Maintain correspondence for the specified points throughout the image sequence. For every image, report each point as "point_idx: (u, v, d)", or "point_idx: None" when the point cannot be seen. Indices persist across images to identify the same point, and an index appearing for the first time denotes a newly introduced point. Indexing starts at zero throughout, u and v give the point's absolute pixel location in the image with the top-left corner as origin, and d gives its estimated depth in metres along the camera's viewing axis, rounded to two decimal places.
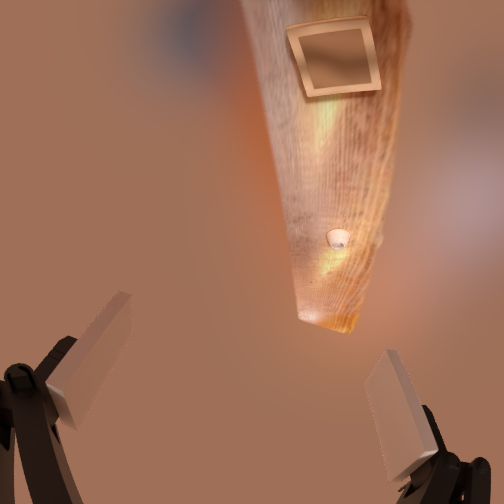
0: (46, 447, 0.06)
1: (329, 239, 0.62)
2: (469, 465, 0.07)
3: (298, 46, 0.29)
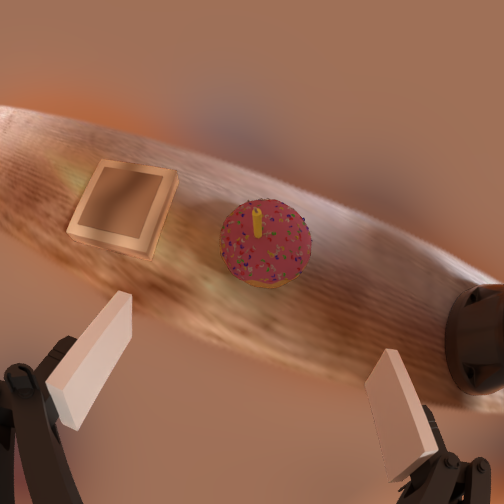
0: (46, 447, 0.06)
1: None
2: (469, 465, 0.07)
3: (154, 172, 0.32)
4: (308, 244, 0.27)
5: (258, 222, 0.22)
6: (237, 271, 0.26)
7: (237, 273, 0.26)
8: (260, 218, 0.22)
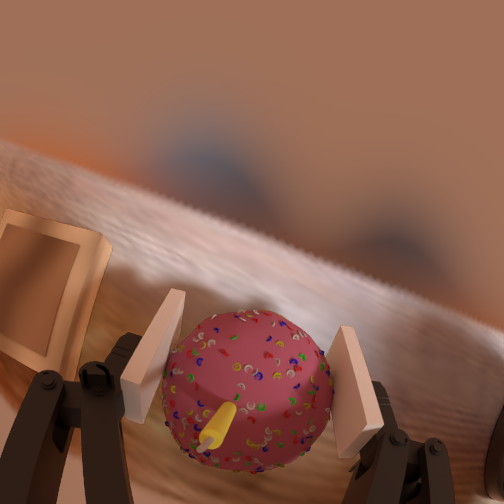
0: (113, 447, 0.07)
1: None
2: (421, 448, 0.08)
3: (68, 237, 0.17)
4: (327, 405, 0.13)
5: None
6: (194, 455, 0.11)
7: (194, 456, 0.12)
8: (222, 439, 0.07)
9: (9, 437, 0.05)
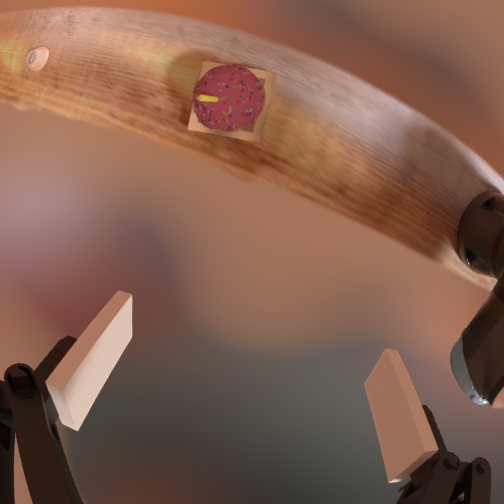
0: (46, 447, 0.06)
1: (40, 48, 0.33)
2: (469, 465, 0.07)
3: (256, 75, 0.34)
4: (259, 101, 0.31)
5: (206, 101, 0.27)
6: (204, 123, 0.32)
7: (205, 124, 0.33)
8: (206, 99, 0.27)
9: None
